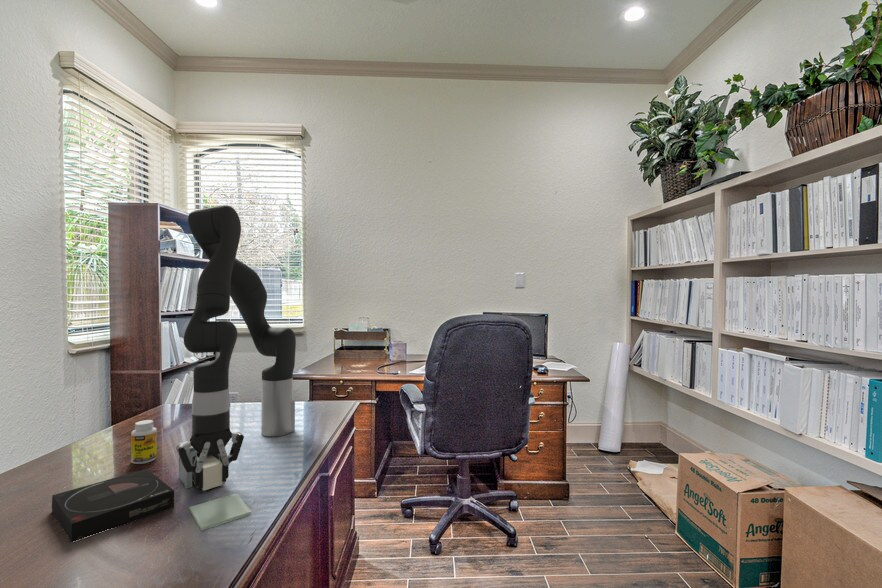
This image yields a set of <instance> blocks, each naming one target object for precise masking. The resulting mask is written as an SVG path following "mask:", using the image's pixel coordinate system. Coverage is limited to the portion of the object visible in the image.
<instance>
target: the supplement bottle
mask: <svg viewBox="0 0 882 588" xmlns="http://www.w3.org/2000/svg"><path fill="white" fill-rule="evenodd" d="M130 433H131V434H130V462H131V464H134V465H143V464H144V465H145V464H148V463H151V462H153V461H155V459H156V458H157V455H158V454H157V453H158V449H157V446H158V444H157V439H158V435H157V434H158V429H157V427H154V420H151V419H146V420H145V419H144V420H140V421H136V422H135V423H134V429H133V430H132V431H131V432H130Z"/></svg>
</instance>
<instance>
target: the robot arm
mask: <svg viewBox="0 0 882 588" xmlns="http://www.w3.org/2000/svg"><path fill="white" fill-rule="evenodd" d="M187 223H188V227H189V230H190V233H191V235H192V236H193V238H194V240H195V242H196V243H197V244H198V246H199V248H200V249H201V251H202V252H203V253H204V255H206V257H207V259H208V260H209V261H208V263H207V264H206V265H205V267H204V268H203V269H202V272H201V273H200V276H199V278H198V280H197V286H196V297H195V298H196V299H195V305H194V306H195V307H194V310H193V313H192V316H191V318H190V319H189V322H188V324H187V326H186V328H185V331H184V334H183V345H184V347H185V348H186V350H187V351H189V352H190V353H191V354H203V353H205V354H206V353H219V355H218V357H217V358H216V359H214V360H211V361H210V360H209V361H206V362H202V363H199V364H197V365H196V366H194V368H193V373H192V374H193V393H192V399H191V400H192V401H191V423H192V424H191V426H192V427H191V434H192V435H191V437H190V438H189V442H187V441H186V442H187V443H185V444H183V445H179V444H178V445H177V446H176V448H175V449H176V451H177V454H178V458H179V457H180V459H181V462H182V464H183V466H184V468H185V469H186V471H187V472H194V481H193V484H194V486H195V487H196V488H198V489H199V490H200V489H201V488H203V472H202V471H201V470H202V467H203V463H204V462H205V459H206V456H209V455H211V454H218V455H219V458H220V461H221V462H222V483H225V482H226V480H227V479H228V478H229V470H230V469H229V467H230V464H231V463H232V462H235V461H237V460H238V457H239V454H240V450H241V448H242V446H243V445H242V444H243V443H244V439H245V436H244V435H243V434H242V433H241V432H236V433H235V432H232V431H231V424H230V423H231V420H230V419H231V418H230V417H231V414H230V413H231V412H230V411H231V409H230V407H231V398H230V397H231V396H230V390H229V386H230V385H229V384H230V383H229V382H230V381H229V380H230V379H229V378H230V377H229V373H230V362H231V358H232V356H233V351H234V349H235V346H236V342H237V339H238V329H237V326H236V325H235V324H234V323H233V322H231V321H229V320H218V321H217V320H215V321H214V320H211V321H208V320H210V319H214V318H218V317H222V316H224V315H226V314H227V313H229V310H230V305H231V300H232V301H233V303H234V304H235V306H236V308H237V310H238V312H239V313H240V315H241V317H242V319H243V321H244V323H245V325H246V327H247V330H248V332H249V334H250V337H251V340H252V341H253V344H254V346H255V349H256V350H257V351H258V353H259V354H261V355H262V356H265V357H275V362H274V364H273V365H272V366H269V367H266V368H264V369H262V371H261V415H260V416H261V423H260V424H261V428H260V429H261V432H260V433H261V435H263V436H264V437H280V436H281V437H282V436H285V435H288V434H290V433H292V432H295V431H296V425H295V424H296V402H295V400H293V392H294V391H293V386H294V385H293V384H294V383H293V381H294V380H293V379H294V378H293V375H294V369H295V363H296V349H297V346H296V345H297V339H296V334H295V332H294V331H293V329H292V328H288V327H272V326H271V325H270V324H269V323H268V320H267V319H266V317H265V309H266V306H267V302H268V293H267V289H266V288H265V285H264V283H263V281H262V279H261V278H260V275H258V273H257V271H255V270H254V269H252V268H251V267H249V266H248V265H247V264H246V263H244V262H242V261H240V260H239V259H237V258H236V257H237V253H238V250H239V249H238V248H239V244H240V240H241V234H242V224H241V219H240V216H239V214H238V212H237V210H236V209H235V208H234V207H232V206H231V205H227V204H223V205H216V206H210V207H206V208H200V209H196V210H193V211H191V212H190V213H188V216H187ZM230 441H231V442H232V444H231V448H230V450H229V454H228V453H227V450H226V446H227V445H228V443H229V442H230ZM191 446H192V447H193V448H194V449H195V450H196V451H197V453H196V456H195V462H194V464H191V463H190V461H189V459H188V456H187V454H188V453H189V452H190V450H189V449H190V447H191Z"/></svg>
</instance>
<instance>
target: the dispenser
mask: <svg viewBox="0 0 882 588" xmlns="http://www.w3.org/2000/svg"><path fill="white" fill-rule="evenodd" d="M189 441H190V440H189ZM189 441H188V440H187V441H183V442H179V443H178V445H183V444H185V443H187V442H189ZM189 450H190V452H189V453H188V454H187V456H188V459H189V461H190V463H191V464H192V457H194V456H196V453H197V451H196V450H195V449H194V448H193V447H192V446H191V447H190V449H189ZM211 455H213V456H214V457H215V458H216V459H218V460H219V461H220V458H219V455H218V454H211ZM178 458H179V459H178V460H179V461H178V462H179V463H178V478H179V479H180V481H181V482H182V484H183V486H184V488H185V489H189V488H193V480H192V472H187V471H186V469H185V468H184V466H183V464H182V462H181V459H180V457H179V456H178ZM220 462H221V461H220Z"/></svg>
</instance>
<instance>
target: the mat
mask: <svg viewBox="0 0 882 588" xmlns="http://www.w3.org/2000/svg"><path fill="white" fill-rule="evenodd" d="M189 511H190V513H191V515H192V517H193V518H194V521H195V522H196V524H197V525H198V527H199V529H200V531H201V532H202V531H205V530H208V529H211V528H213V527H218V526H220V525H223V524H227V523H230V522H233V521H235V520H238V519H241V518H244V517H247V516H248V517H249V516H250V515H252V511H251V509H250V508H249V507H248V506H247V505H246V503H245V502H244V501H243V500H242V499H241V498H240V496H239V495H238V494H237V493H233V494H230V495H226V496H223V497H219V498H216V499H212V500H209V501H206V502H203V503H200V504H196V505H195V504H194V505H192V506H189Z"/></svg>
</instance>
